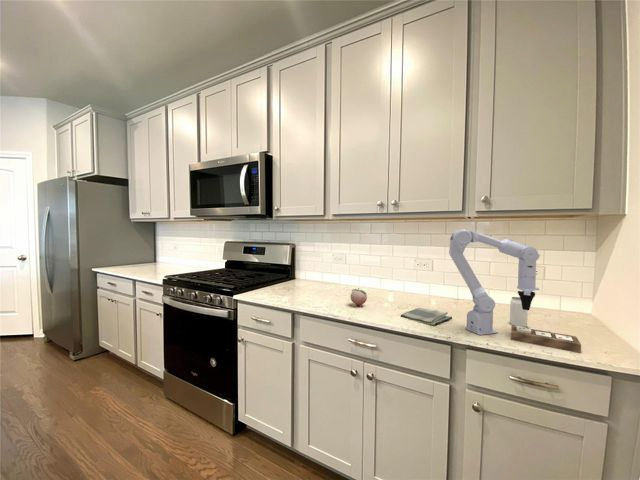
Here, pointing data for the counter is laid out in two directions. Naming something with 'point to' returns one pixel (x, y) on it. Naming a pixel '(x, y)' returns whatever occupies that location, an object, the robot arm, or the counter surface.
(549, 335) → the one dot tile
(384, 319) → the counter surface
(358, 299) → the decorative fruit
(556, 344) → the brown wooden tray
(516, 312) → the can
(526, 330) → the three dot tile
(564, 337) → the two dot tile
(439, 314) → the dish towel
